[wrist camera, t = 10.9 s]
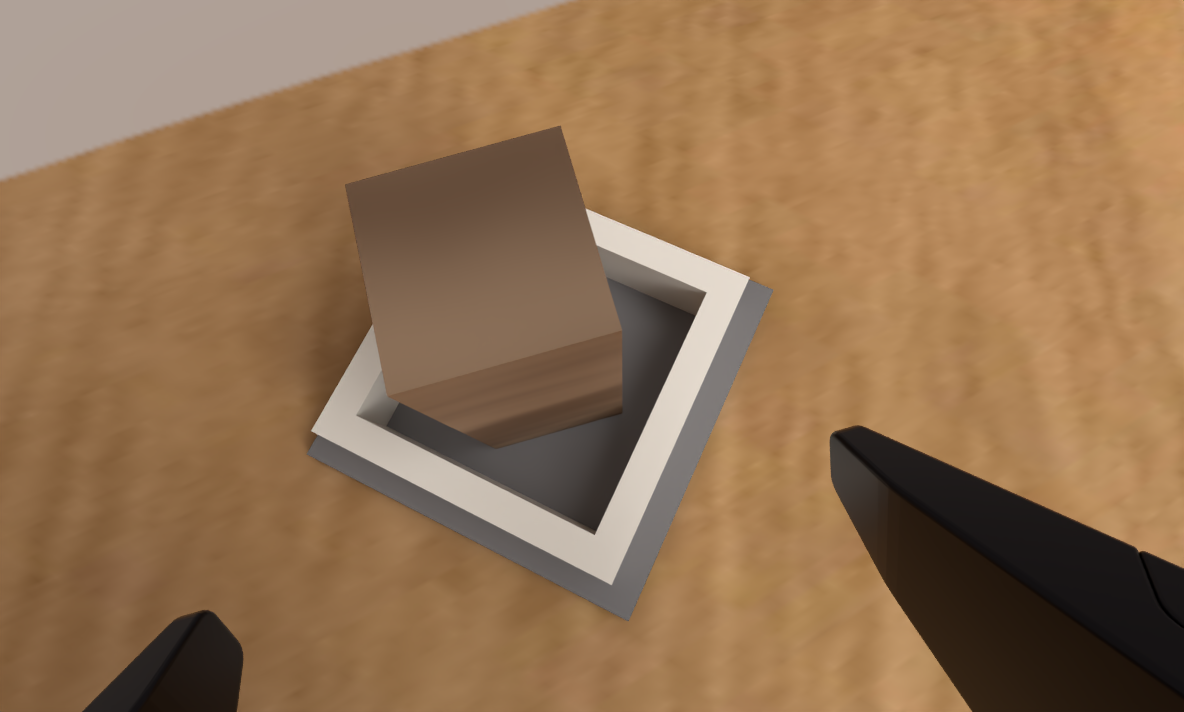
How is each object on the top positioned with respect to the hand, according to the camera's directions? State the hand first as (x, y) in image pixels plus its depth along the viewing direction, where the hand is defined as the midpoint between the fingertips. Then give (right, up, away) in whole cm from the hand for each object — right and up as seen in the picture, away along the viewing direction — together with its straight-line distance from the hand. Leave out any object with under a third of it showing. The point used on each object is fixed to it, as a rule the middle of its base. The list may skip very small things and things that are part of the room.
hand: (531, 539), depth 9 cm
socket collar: (-1, +2, +13) cm, 13 cm away
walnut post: (-1, +2, +13) cm, 13 cm away
